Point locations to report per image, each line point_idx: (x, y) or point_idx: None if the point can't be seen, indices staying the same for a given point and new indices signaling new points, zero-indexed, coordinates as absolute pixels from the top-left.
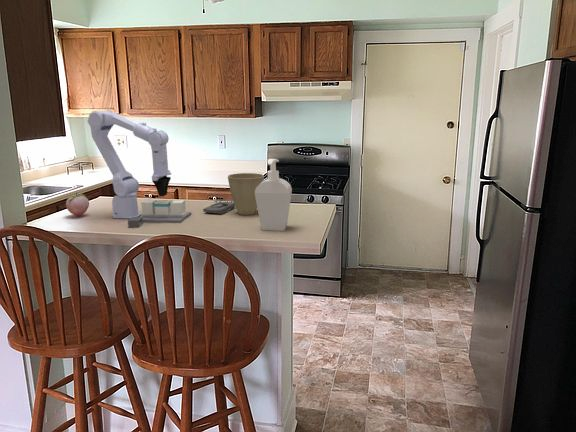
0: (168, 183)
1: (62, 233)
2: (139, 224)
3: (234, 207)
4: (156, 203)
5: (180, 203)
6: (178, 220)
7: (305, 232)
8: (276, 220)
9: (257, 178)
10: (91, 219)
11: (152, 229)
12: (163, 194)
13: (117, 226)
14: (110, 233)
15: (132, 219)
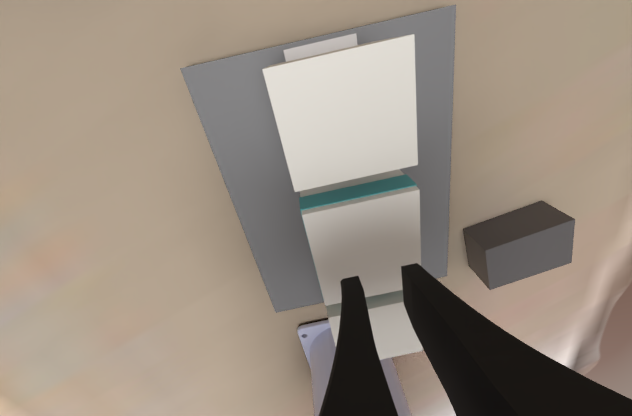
0: (342, 402)
1: (585, 369)
2: (541, 210)
3: None
4: None
5: (412, 42)
6: (454, 20)
7: None
8: None
9: None
10: (410, 405)
11: (596, 108)
12: (429, 278)
13: (512, 290)
14: (625, 251)
15: (545, 258)
